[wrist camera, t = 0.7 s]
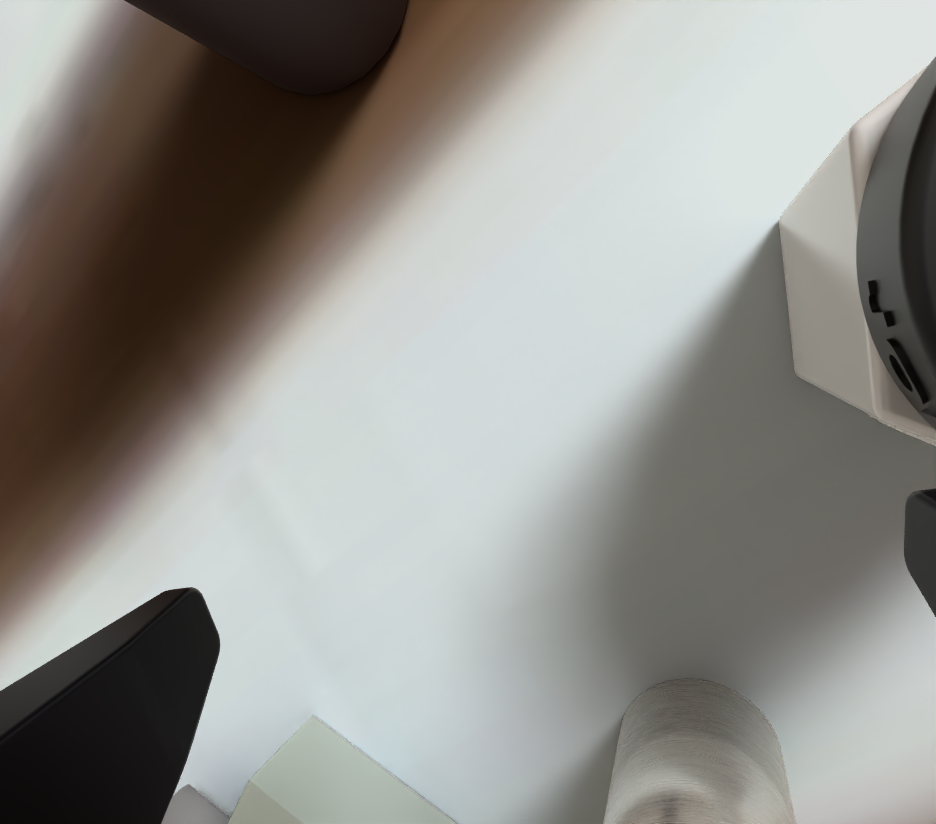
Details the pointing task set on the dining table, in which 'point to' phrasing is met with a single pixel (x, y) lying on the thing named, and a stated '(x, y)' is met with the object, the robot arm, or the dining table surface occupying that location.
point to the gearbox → (314, 789)
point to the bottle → (289, 36)
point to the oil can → (697, 760)
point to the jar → (871, 264)
